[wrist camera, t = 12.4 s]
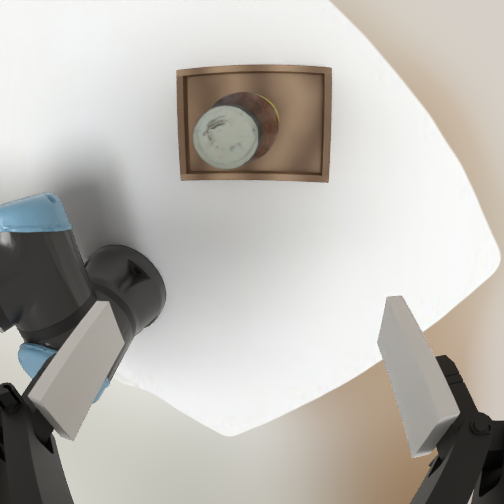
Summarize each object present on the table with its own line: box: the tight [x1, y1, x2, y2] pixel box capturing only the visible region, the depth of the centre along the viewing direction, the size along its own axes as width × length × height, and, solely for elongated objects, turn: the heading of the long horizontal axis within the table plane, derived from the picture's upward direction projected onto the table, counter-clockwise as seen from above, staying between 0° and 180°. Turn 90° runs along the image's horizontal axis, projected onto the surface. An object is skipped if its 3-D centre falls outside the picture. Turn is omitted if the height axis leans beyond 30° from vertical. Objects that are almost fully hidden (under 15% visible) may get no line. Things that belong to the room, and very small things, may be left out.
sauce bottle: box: [193, 92, 279, 170], centre depth 26 cm, size 6×6×20 cm
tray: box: [177, 65, 332, 183], centre depth 34 cm, size 18×14×3 cm
